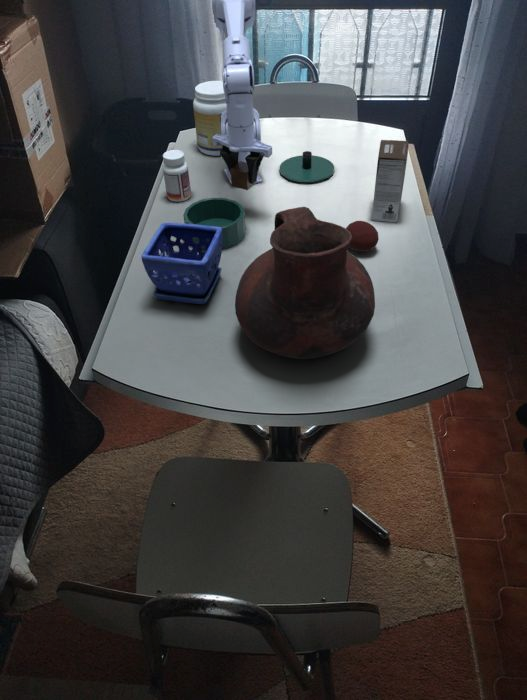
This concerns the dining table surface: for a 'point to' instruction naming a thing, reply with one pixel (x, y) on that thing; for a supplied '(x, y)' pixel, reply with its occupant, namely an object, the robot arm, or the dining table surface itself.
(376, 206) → the coffee box
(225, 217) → the tin
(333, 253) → the jug
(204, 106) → the supplement tub
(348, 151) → the dining table surface
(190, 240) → the flower pot
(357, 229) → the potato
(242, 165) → the block
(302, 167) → the tin lid
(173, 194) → the pill bottle
